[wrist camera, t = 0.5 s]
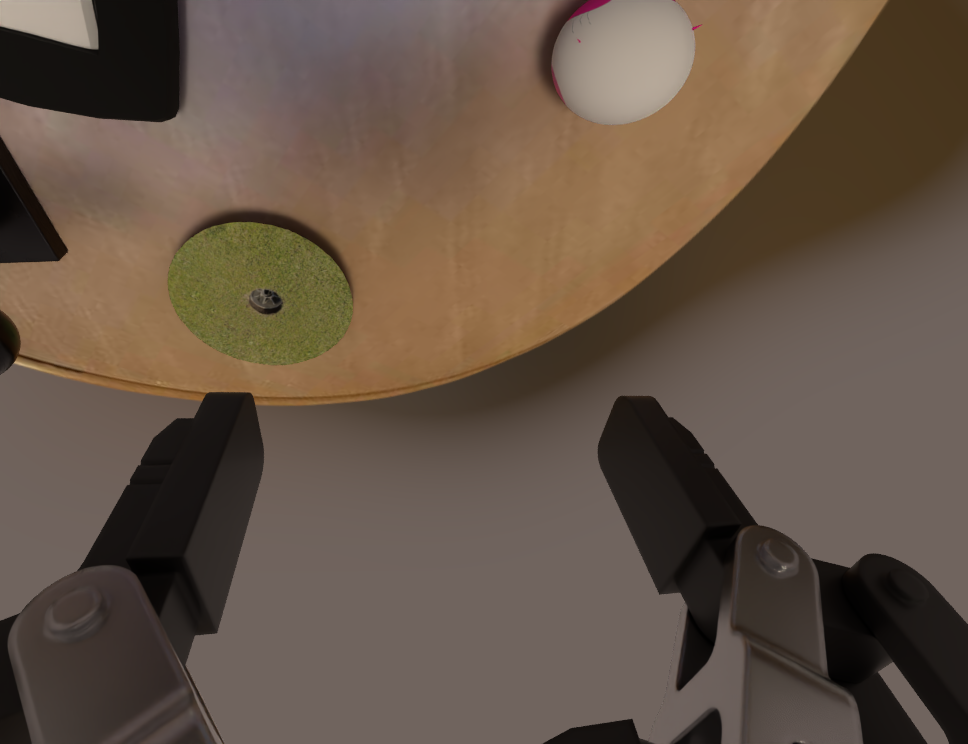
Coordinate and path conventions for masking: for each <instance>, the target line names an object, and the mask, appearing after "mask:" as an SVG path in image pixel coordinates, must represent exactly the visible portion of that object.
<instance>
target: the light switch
mask: <svg viewBox="0 0 968 744" xmlns="http://www.w3.org/2000/svg"><path fill="white" fill-rule="evenodd" d="M179 58H180V51H179V28H178V4H177V0H0V98H3V99H7V100H10V101H13V102H17V103H20V104H24V105H27V106H31V107H37V108H43V109H49V110H54V111H60V112H66V113H71V114H77V115H83V116H89V117H94V118H102V119H118V120H134V121H150V122H163V121H167V120H170V119H172V118H174V117H176V114H177V112H178V109H179Z"/></svg>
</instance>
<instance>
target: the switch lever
mask: <svg viewBox="0 0 968 744" xmlns="http://www.w3.org/2000/svg"><path fill="white" fill-rule="evenodd" d="M20 345H21V340H20V335H19V332H18V329H17V327H16V326H15V324H14V323H13V321H12V320H11V319H10V318H9V317H8V316H7V315H6V314H5V313H4V312H2V311H1V310H0V375H1V374H2V373H4V372H5V371H6V370H8V368H10V366H11V365H12V364H13V363H14V362H15V360H16V358H17V356H18V354H19V351H20Z"/></svg>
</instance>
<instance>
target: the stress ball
mask: <svg viewBox="0 0 968 744" xmlns="http://www.w3.org/2000/svg"><path fill="white" fill-rule="evenodd" d="M699 26H701V25H699ZM699 26H696V27H693V28H692V24H691V22H690V20H689V18H688V16H687V14H686V13H685V11H684V10H683V8H682V7H681V6H680V5H679V4H678V3H677V2H676V1H675V0H589V1H587V2H586V3H585V4H583V5H582V6H581V7H580V8H579V9H577V10H576V11H575V12H574V13H573V15H572V16H571V17H570V18H569V19H568V20H567V22H566V23H565V25H564V26H563V28H562V30H561V31H560V33H559V35H558V38H557V40H556V43H555V46H554V49H553V54H552V64H551V69H552V77H553V82H554V85H555V88H556V91H557V93H558V95H559V96H560V98H561V99H562V101H563V102H564V104H565V105H566V106H567V107H568V108H569V109H570V110H571V111H572V112H574V113H575V114H577V115H578V116H580V117H582V118H584V119H586V120H588V121H591V122H594V123H598V124H604V125H621V124H628V123H632V122H635V121H638V120H641V119H644V118H646V117H648V116H650V115H652V114H654V113H655V112H657V111H658V110H660V109H661V108H663V107H664V106H665V105H666V104H667V103H669V102H670V101H671V100H672V99H673V98H674V97H675V95H676V94H677V93H678V92H679V90H680V89H681V88H682V86H683V85H684V83H685V81H686V79H687V77H688V75H689V73H690V70H691V68H692V65H693V60H694V55H695V37H694V31H693V30H694V29H696V28H698V27H699Z"/></svg>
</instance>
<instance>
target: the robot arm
mask: <svg viewBox="0 0 968 744" xmlns="http://www.w3.org/2000/svg"><path fill="white" fill-rule="evenodd" d="M598 460H599V464H600V467H601V469H602V471H603V473H604V476H605V478H606V480H607V482H608V485H609V487H610V489H611V491H612V493H613V495H614V497H615V500H616V502H617V504H618V506H619V508H620V510H621V513H622V515H623V517H624V519H625V521H626V523H627V525H628V527H629V530H630V532H631V534H632V536H633V538H634V540H635V543H636V545H637V547H638V549H639V551H640V554H641V556H642V557H643V560H644V562H645V564H646V566H647V568H648V571H649V573H650V575H651V577H652V579H653V582H654V584H655V586H656V588H657V590H658V592H659V594H669V593H681V594H682V597H683V599H684V600H685V603H684V605H683V606H682V608H681V611H680V615H679V620H678V626H677V632H676V637H675V643H674V649H673V655H672V660H671V666H670V672H669V678H668V683H667V689H666V694H665V697H664V701H663V704H662V706H661V708H660V710H659V712H658V714H657V717H656V719H655V721H654V724H653V727H652V730H651V733H650V737H649V740H648V741H646V740H643V739H640V738H639V737H638V734H637V731H636V728H635V726H634V723H633V720H632V719H628V720H622V721H615V722H609V723H602V724H596V725H589V726H583V727H576V728H571V729H569V730H567V731H565V732H564V733H561V734H560V735H558V736H556V737H554V738H552V739H550V740H548V741H547V742H545V743H543V744H927V742H926V741H925V740H924V738H923V737H922V735H921V734H920V732H919V731H918V729H917V728H916V727H915V725H914V724H913V722H912V721H911V719H910V718H909V717H908V715H907V713H906V712H905V711H904V709H903V708H902V706H901V705H900V703H899V702H898V701H897V699H896V698H895V696H894V695H893V693H892V692H891V690H890V689H889V688H888V686H887V685H886V683H885V682H884V680H883V679H882V677H881V676H880V675H879V673H878V671H880V670H881V669H883V668H884V667H886V666H887V665H889V664H890V663H892V662H894V663H895V665H896V666H897V667H898V669H899V670H900V671H901V673H902V674H903V676H904V677H905V678H906V680H907V681H908V682H909V684H910V685H911V687H912V688H913V689H914V691H915V692H916V693H917V695H918V696H919V698H920V699H921V700H922V702H923V703H924V704H925V706H926V707H927V709H928V710H929V711H930V712H931V714H932V715H933V717H934V718H935V719H936V721H937V722H938V724H939V725H940V726H941V728H942V729H943V731H944V733H945V734H946V737H947V739H948V741H949V744H968V624H967V623H966V622H965V621H964V620H963V618H962V617H961V616H960V615H959V614H958V613H957V612H956V611H955V610H954V608H953V607H952V606H951V605H950V604H949V603H948V602H947V601H946V600H945V598H943V596H942V595H941V594H940V593H939V592H938V591H937V590H936V589H935V587H934V586H933V585H932V584H931V583H930V582H929V581H928V580H926V579H925V578H924V577H923V576H922V575H920V574H919V573H918V572H917V571H915V570H914V569H912V568H911V567H909V566H908V565H906V564H904V563H902V562H900V561H899V560H896V559H894V558H892V557H888V556H886V555H881V554H867V555H865V556H863V557H862V558H861V559H860V560H859V561H858V562H856V563H855V564H854V565H853V566H852V567H851V568H848V567H844V566H840V565H836V564H832V563H828V562H823V561H819V560H816V559H812V558H810V557H809V555H808V554H807V553H806V552H805V551H804V550H803V549H802V547H800V546H799V545H798V544H797V543H796V542H795V541H793V540H792V539H791V538H789V537H788V536H786V535H784V534H783V533H781V532H779V531H777V530H775V529H772V528H769V527H765V526H760V525H758V524H757V523H756V522H755V520H754V519H753V517H752V516H751V515H750V513H749V512H748V510H747V509H746V508H745V506H744V505H743V504H742V502H741V501H740V499H739V498H738V497H737V495H736V494H735V492H734V491H733V490H732V488H731V487H730V486H729V484H728V483H727V481H726V480H725V479H724V477H723V476H722V475H721V473H720V472H719V470H718V469H715V468H714V463H713V462H712V461H711V459H710V458H709V456H708V455H707V454H704V450H703V448H702V447H701V445H700V444H699V443H698V441H697V440H696V438H695V437H694V436H693V434H692V433H691V432H690V431H689V430H687V429H686V428H685V427H684V426H682V425H681V424H680V423H679V422H678V421H676V420H675V419H674V418H672V417H668V416H667V415H666V414H665V412H664V410H663V409H662V407H661V406H660V404H659V403H658V402H657V401H656V399H655V398H653V397H651V396H620V397H618V398H617V399H616V401H615V403H614V405H613V408H612V410H611V413H610V415H609V418H608V421H607V423H606V425H605V428H604V431H603V433H602V436H601V438H600V441H599V445H598ZM263 463H264V448H263V442H262V437H261V432H260V428H259V422H258V417H257V412H256V407H255V402H254V398H253V396H252V394H251V393H245V392H209V393H207V394H206V396H205V397H204V399H203V401H202V403H201V405H200V407H199V410H198V411H197V413H196V415H195V417H194V418H188V419H186V418H181V419H180V418H177V419H176V420H174V421H173V422H172V423H171V424H170V425H169V426H167V427H166V428H165V429H164V430H163V431H161V432H160V433H159V434H158V435H157V436H156V437H154V438H153V440H152V442H151V444H150V445H149V447H148V449H147V451H146V452H145V454H144V456H143V458H142V460H141V465H140V466H139V465H138V467H137V468H136V470H135V472H134V474H133V475H132V477H131V479H130V485H127V486H126V488H125V490H124V491H123V493H122V495H121V497H120V499H119V500H118V502H117V504H116V506H115V508H114V509H113V511H112V513H111V514H110V516H109V518H108V520H107V522H106V523H105V525H104V527H103V529H102V530H101V532H100V534H99V536H98V538H97V539H96V541H95V543H94V545H93V546H92V548H91V550H90V552H89V554H88V555H87V557H86V559H85V560H84V562H83V563H82V565H81V567H80V568H79V569H78V570H77V571H76V572H74V573H72V574H69V575H67V576H65V577H63V578H61V579H59V580H58V581H56V582H54V583H53V584H51V585H50V586H48V587H47V588H45V589H44V590H43V591H41V592H40V593H39V594H38V595H37V596H35V597H34V598H33V599H32V600H31V601H30V602H29V603H28V604H27V605H26V606H25V608H24V609H23V610H22V612H21V613H19V614H17V615H14V616H12V617H9V618H7V619H4V620H1V621H0V744H225V742H224V740H223V738H222V736H221V734H220V732H219V730H218V728H217V726H216V724H215V722H214V720H213V718H212V716H211V714H210V712H209V710H208V708H207V706H206V704H205V702H204V700H203V698H202V695H201V694H200V691H199V689H198V687H197V685H196V683H195V681H194V679H193V677H192V675H191V673H190V671H189V669H188V667H187V665H186V661H187V658H188V655H189V652H190V649H191V646H192V642H193V639H194V636H195V635H204V634H215V633H217V631H218V628H219V624H220V621H221V617H222V614H223V610H224V607H225V603H226V600H227V596H228V593H229V589H230V585H231V582H232V578H233V575H234V571H235V568H236V564H237V561H238V557H239V554H240V550H241V547H242V543H243V540H244V536H245V533H246V529H247V525H248V522H249V518H250V515H251V511H252V508H253V504H254V501H255V497H256V493H257V490H258V487H259V483H260V480H261V475H262V471H263Z"/></svg>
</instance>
